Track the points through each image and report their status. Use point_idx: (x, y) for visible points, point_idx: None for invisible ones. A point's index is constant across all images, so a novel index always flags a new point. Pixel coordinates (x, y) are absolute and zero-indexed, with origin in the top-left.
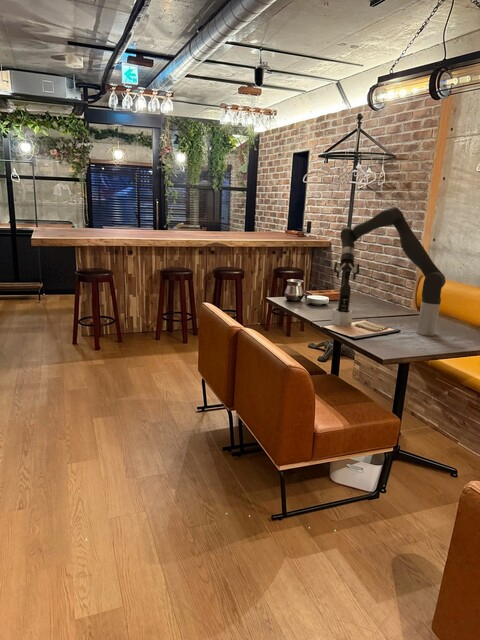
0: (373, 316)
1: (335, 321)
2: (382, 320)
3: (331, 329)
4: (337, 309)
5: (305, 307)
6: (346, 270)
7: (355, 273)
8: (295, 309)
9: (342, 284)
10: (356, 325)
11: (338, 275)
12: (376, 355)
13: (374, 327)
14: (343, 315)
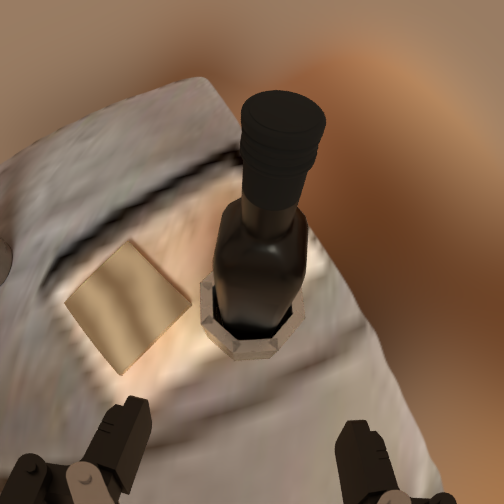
0: None
1: None
2: (52, 425)
3: None
4: (278, 331)
5: None
6: (305, 122)
7: (86, 466)
8: (422, 490)
9: (299, 240)
10: (185, 298)
11: (362, 432)
12: (210, 83)
13: (120, 274)
14: None
